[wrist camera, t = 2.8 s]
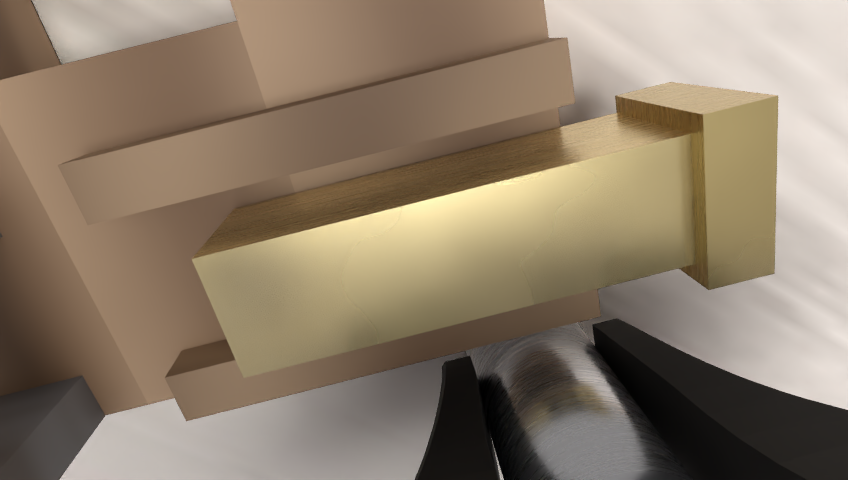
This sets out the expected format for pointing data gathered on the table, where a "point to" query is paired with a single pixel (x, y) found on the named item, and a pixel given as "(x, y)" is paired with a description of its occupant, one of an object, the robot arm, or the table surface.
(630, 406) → the cylinder
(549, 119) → the dock
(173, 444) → the table surface
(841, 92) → the table surface
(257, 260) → the lock pin
